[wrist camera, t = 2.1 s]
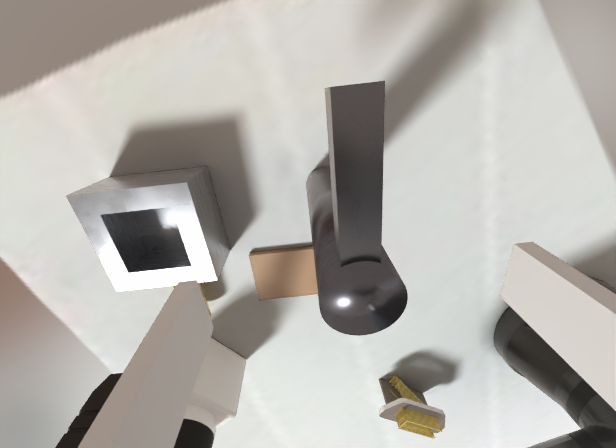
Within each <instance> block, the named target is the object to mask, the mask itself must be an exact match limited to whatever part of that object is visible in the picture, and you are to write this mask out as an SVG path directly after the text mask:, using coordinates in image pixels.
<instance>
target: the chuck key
mask: <svg viewBox="0 0 616 448" xmlns="http://www.w3.org/2000/svg"><path fill="white" fill-rule="evenodd" d="M384 97H385V81H380V82H371V83H362V84H353V85H345V86H336V87H329V88H325V99H326V114H327V129H328V144H329V159H330V167H329V166H323V167H319V168H317V169H315V170H314V171H313V172H312V173H311V174H310V175H309V177H308V179H307V183H306V188H307V197H308V206H309V215H310V224H311V233H312V242H313V252H314V261H315V270H316V279H317V288H318V297H319V306H320V312H321V315H322V317H323V319H324V321H325V322H326V323H327V324H328V325H329V326H330V327H332V328H333V329H335V330H337V331H339V332H341V333H344V334H349V335H367V334H372V333H376V332H379V331H381V330H383V329H385V328H387V327H389V326H390V325H392V324H393V323H394V322H395V321H396V320H397V319H398V318H399V317H400V316H401V315H402V313H403V311H404V309H405V307H406V304H407V290H406V287H405V285H404V283H403V281H402V280H401V278H400V276H399V274H398V273H397V271H396V269H395V267H394V266H393V264H392V262H391V260H390V259H389V257H388V255H387V253H386V252H385V250H384V248H383V246H382V245H381V238H382V191H383V144H384Z"/></svg>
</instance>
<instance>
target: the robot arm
mask: <svg viewBox="0 0 616 448" xmlns="http://www.w3.org/2000/svg"><path fill="white" fill-rule="evenodd" d="M499 296H500V297H501V298H502V299H503V300H504V301H505V302H506V303H507V304H508V305H509V306H510V308H509V309H508V310H507V311H506V312H505V313H504V315H503V316H502V317H501V319H500V320H499V322H498V324H497V326H496V329H495V332H494V345H495V348H496V350H497V351H498V353H499V354H500V355H501V356H502V358H503V359H504V360H505V362H506V363H507V364H508V365H509V366H510V367H511V368H512V369H513V370H514V371H515V372H517V373H518V374H520V375H521V376H523V377H525V378H526V379H528V380H529V381H530V382H531V383H532V384H534V385H535V386H536V387H537V388H539V389H540V390H541V391H543V392H544V393H545V394H546V395H548V396H549V397H550V398H552V399H553V400H554V401H555V402H557V403H558V404H559V405H560V406H562V407H563V408H564V410H565V411H566V412H567V413H568V414H569V415H570V416H571V418H572V419H573V420H574V421H575V422H576V423H577V425H578V426H579V427H580V428H581V429H580V430H578V431H575V432H572V433H569V434H565V435H562V436H560V437H557V438H554V439H551V440H548V441H545V442H542V443H539V444H537V445H534V446H531V447H528V448H616V289H614V288H613V287H611V286H609V285H608V284H606V283H605V282H603V281H600V280H598V279H594V278H589V277H588V276H586V275H584V274H583V273H581V272H580V271H578V270H577V269H575V268H573V267H572V266H570V265H569V264H567V263H565V262H564V261H562V260H561V259H559V258H557V257H556V256H554V255H553V254H551V253H549V252H548V251H546V250H545V249H543V248H542V247H540V246H538V245H537V244H535V243H534V242H528V243H519V244H514V247H513V250H512V253H511V257H510V260H509V264H508V267H507V271H506V274H505V278H504V281H503V285H502V288H501V292H500V295H499ZM213 330H214V325H213V323H212V320H211V317H210V314H209V312H208V309H207V306H206V303H205V301H204V298H203V295H202V292H201V290H200V287H199V284H198V281H197V280H190V281H181V282H178V283H177V285H176V287H175V288H174V290H173V292H172V293H171V295H170V296H169V298H168V300H167V301H166V303H165V305H164V306H163V308H162V310H161V311H160V313H159V315H158V316H157V318H156V320H155V321H154V323H153V324H152V326H151V328H150V329H149V331H148V333H147V334H146V336H145V338H144V339H143V341H142V343H141V344H140V346H139V348H138V349H137V351H136V352H135V354H134V356H133V357H132V359H131V361H130V362H129V364H128V366H127V367H126V369H125V371H124V372H123V373H118V374H111V375H109V376H108V377H107V379H105V381H103V382H102V383H101V384H100V385H99V386H98V387H97V388H96V389H95V390H94V391H93V392H92V394H91V395H90V397H89V398H88V400H87V401H86V403H85V404H84V406H83V407H82V409H81V410H80V414H79V416H76V418H75V419H74V421H73V422H72V424H71V425H70V427H69V428H68V432H67V433H66V434H64V436H63V437H62V439H61V440H60V442H59V443H58V445H57V446H56V448H174V445H175V442H176V439H177V436H178V433H179V430H180V427H181V424H182V421H183V418H184V416H185V413H186V410H187V407H188V404H189V401H190V398H191V395H192V392H193V389H194V386H195V383H196V380H197V377H198V374H199V371H200V368H201V365H202V362H203V359H204V356H205V353H206V350H207V347H208V344H209V342H210V339H211V336H212V333H213Z"/></svg>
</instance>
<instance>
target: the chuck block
mask: <svg viewBox="0 0 616 448" xmlns="http://www.w3.org/2000/svg"><path fill="white" fill-rule="evenodd" d="M66 197H67V199H68V201H69V202H70V204H71V206H72V208H73V210H74V212H75V214H76V216H77V218H78V219H79V221H80V223H81V225H82V227H83V229H84V231H85V233H86V234H87V236H88V238H89V240H90V242H91V244H92V246H93V248H94V250H95V251H96V253H97V255H98V257H99V259H100V261H101V263H102V265H103V267H104V268H105V270H106V272H107V274H108V276H109V278H110V280H111V282H112V284H113V285H114V287H115V289H116V291H125V290H134V289H144V288H153V287H162V286H171V285H173V287H174V288H175V287H176V285H177V283H178V282H181V281H190V280H197V281H198V284H199V287H200V290H201V292H202V295H203V298H204V301H205V303H206V306H207V309H208V312H209V314H210V317H211V312H210V309H209V307H208V304H207V301H206V298H205V295H204V292H203V289H202V287H201V284H200V282H209V281H217V280H218V278H219V276H220V273H221V271H222V269H223V266H224V264H225V262H226V259H227V257H228V255H229V252H230V248H229V245H228V241H227V237H226V234H225V230H224V226H223V223H222V219H221V215H220V211H219V208H218V204H217V200H216V197H215V193H214V189H213V185H212V182H211V178H210V174H209V171H208V167H207V166H204V167H195V168H186V169H177V170H168V171H159V172H150V173H141V174H132V175H123V176H114V177H108V178H106V179H103V180H101V181H99V182H97V183H94V184H92V185H90V186H87V187H85V188H83V189H80V190H78V191H76V192H74V193H71V194H69V195H67V196H66Z"/></svg>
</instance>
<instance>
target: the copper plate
mask: <svg viewBox="0 0 616 448" xmlns="http://www.w3.org/2000/svg"><path fill="white" fill-rule="evenodd" d="M249 258H250V262H251V266H252V271H253V275H254V279H255V283H256V288H257V292H258V296H259V300H267V299H276V298H285V297H295V296H304V295H314V294H318V288H317V279H316V270H315V261H314V252H313V246H308V247H298V248H289V249H280V250H271V251H262V252H252V253H250V254H249Z"/></svg>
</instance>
